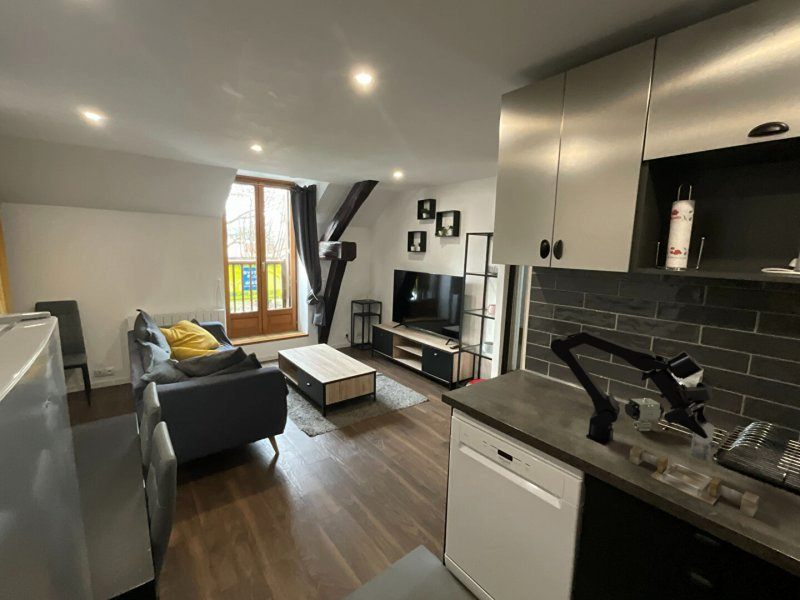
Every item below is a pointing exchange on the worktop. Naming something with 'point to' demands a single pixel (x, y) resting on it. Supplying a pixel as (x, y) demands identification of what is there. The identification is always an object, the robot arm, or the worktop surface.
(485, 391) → the worktop surface
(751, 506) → the shaft rig
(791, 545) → the worktop surface
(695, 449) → the ujoint coupling
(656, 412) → the pneumatic valve
